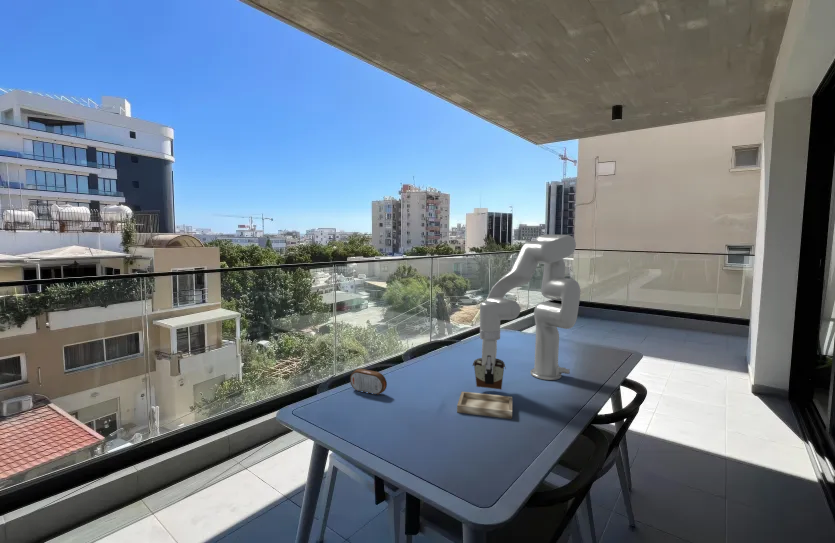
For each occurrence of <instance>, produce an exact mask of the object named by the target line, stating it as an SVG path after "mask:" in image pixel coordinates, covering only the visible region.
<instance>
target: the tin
mask: <svg viewBox="0 0 835 543" xmlns="http://www.w3.org/2000/svg"><path fill="white" fill-rule="evenodd" d="M349 382H350V385H351V387H352V388H353V389H354V390H355V391H357V390H358V391H357V392H359V391H363V392H362V393H364V392H368V393H367V394H369V393H373V394H377V395H376V396H378V395H381V394H382V393H384V392H385V391H386V389H387V386H388V383H387V380H386V377H385V375H383V373H381V372H379V371H376V370H375V371H374V370H370V369H365V368H357V369H355V370H354V371H353V372H352V373H351V374H350V376H349ZM373 394H372V395H373Z"/></svg>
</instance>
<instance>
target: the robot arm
mask: <svg viewBox="0 0 835 543" xmlns="http://www.w3.org/2000/svg"><path fill="white" fill-rule="evenodd" d="M576 245H577V242H576V239H575V238H574V237H573V236H572V235H571V234H570V235H569V234H541V235H538V236H537V237H536V238H535V240H532V241H531V240H530V241H526V242H525V243H523V245H522V246H521V248H520V249H519V252H518V254H517V256H516V258H515V260H514V262H513V264H512V267H511V269H510V270H509V272H508V273H506V275H504V276H503V277H501V278H500V279H499V280H498V281H496V283H495V284H493V286H492V287H491V289H490V291H489V293H488V296H487V297H486V300H485V301H482V302H481V303H480V305H479V338H480V339H481V340H482V341H481V342H482V343H481V358H482V366H483V365H485V364H486V370H485V384H494V374H493V367H494V366H495V361H496V359H497V350H498V341H499V340H500V339H501V321H505V320H506V321H511V320H514V319H516V318H517V317H519V316H520V314H521V305H520V304H519V303H518V302H517V301H516V300H513V299H507V298H504V297H505V296H506V295H507V293H509V292H510V291H511V290H514V289H516V288H518V287H521V286H524V285H526V284H529V283H530V282H531V280H532V278H533V276H534V273H535V271H536V269H537V267H538V265H539V264H543V273H542V280H541V288H540V292H541V295H542V297H544V298H545V299H549V300H552V301H553V300H554V301H560V302H561V303H556V302H551V301H541V302H538V303H537V304H536V305H535V307H534V310H533V316H534V323H535V348H534V367H533V368H532V369H530V375H531V376H532V377H534V378H537V379H540V380H545V381H555V380H559V379H561V378H562V374H567V375H570V373H571V372H570V368H566V367H560V366H559V350H560V349H559V348H560V333H559V330H558V329H559V328H560V329H565V330H569V329H570V330H571V329H573V327H574V326H575V325H576V323H577V319H578V314H579V308H580V306H579V305H580V300H581V286H580V283H579V282H578V281H577V280H575V279H573V278H566V277H565V275H566V263H565V260H564V259H566V258H567V257H570V256H571V255H572V254H574V252H575V251H576ZM491 364H492V365H491ZM491 367H492V369H491Z"/></svg>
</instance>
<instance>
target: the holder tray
mask: <svg viewBox="0 0 835 543" xmlns="http://www.w3.org/2000/svg"><path fill="white" fill-rule="evenodd" d="M456 406H457V407H456V413H459V414H468V415H475V416H476V415H477V416H485V417H493V418H500V419H509V420H510V419H511V420H512V419H513V396H508V395H499V394H490V393H489V394H488V393H481V392H480V393H479V392H469V391H461V393H460V395H459V399H458V401H457V405H456Z"/></svg>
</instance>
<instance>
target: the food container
mask: <svg viewBox="0 0 835 543" xmlns="http://www.w3.org/2000/svg"><path fill="white" fill-rule="evenodd" d="M491 365H492V364H491ZM472 367H473V368H474V375H475V384H476V387H477V388H484V389H493V390H503V379H504V372H505V371H504V370H506V369H507V368H506V364H505V362H504V361H503V360H502V359H499V358H496V361H495V366H494V367H493V374H494V384H485V370H486V364H485V365H483V366H482V357H479V358H477V359H474V360H473V362H472ZM491 369H492V367H491Z"/></svg>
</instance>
